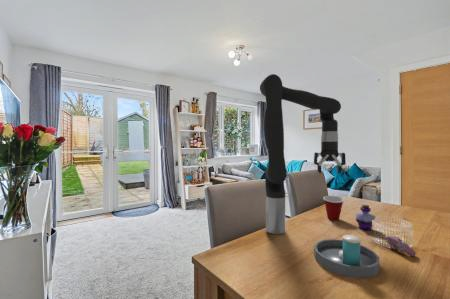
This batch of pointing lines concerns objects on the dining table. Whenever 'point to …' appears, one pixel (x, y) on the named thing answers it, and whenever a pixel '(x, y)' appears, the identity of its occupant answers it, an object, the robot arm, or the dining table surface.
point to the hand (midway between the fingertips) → (329, 173)
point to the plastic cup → (333, 207)
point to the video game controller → (399, 245)
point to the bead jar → (351, 250)
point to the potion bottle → (365, 218)
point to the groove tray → (333, 257)
